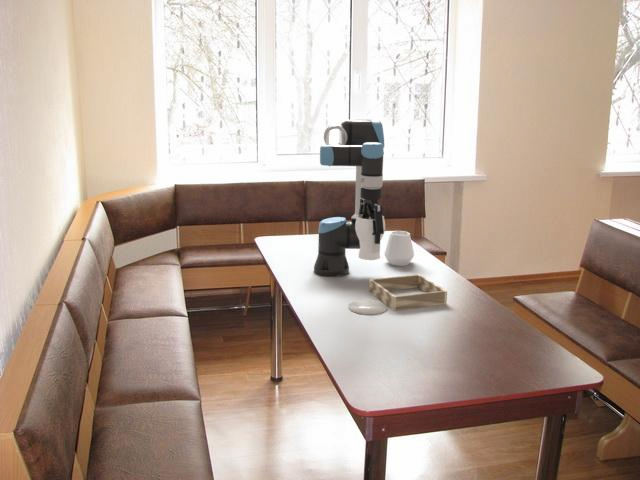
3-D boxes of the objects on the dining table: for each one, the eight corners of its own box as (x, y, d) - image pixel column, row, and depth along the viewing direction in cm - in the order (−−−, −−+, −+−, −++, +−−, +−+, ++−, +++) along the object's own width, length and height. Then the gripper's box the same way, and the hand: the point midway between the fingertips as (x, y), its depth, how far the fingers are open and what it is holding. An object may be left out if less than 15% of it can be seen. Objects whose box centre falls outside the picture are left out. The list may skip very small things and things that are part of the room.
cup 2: (418, 261, 303) (420, 232, 300) (405, 268, 292) (407, 238, 289) (392, 257, 310) (393, 228, 307) (378, 263, 299) (379, 233, 296)
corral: (369, 291, 262) (369, 279, 260) (418, 286, 269) (419, 274, 268) (393, 310, 242) (393, 297, 240) (446, 304, 249) (447, 291, 248)
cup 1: (382, 262, 233) (383, 220, 229) (352, 260, 235) (353, 218, 231) (385, 254, 243) (387, 214, 239) (356, 252, 245) (357, 212, 241)
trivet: (342, 303, 248) (342, 302, 248) (377, 299, 252) (377, 298, 252) (357, 316, 235) (357, 314, 235) (393, 312, 240) (393, 310, 239)
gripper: (349, 182, 242) (347, 241, 247) (375, 193, 221) (372, 257, 226) (368, 181, 244) (366, 239, 250) (395, 192, 223) (392, 255, 229)
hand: (369, 248), depth 238 cm, fingers closed on cup 1, 11 cm apart
